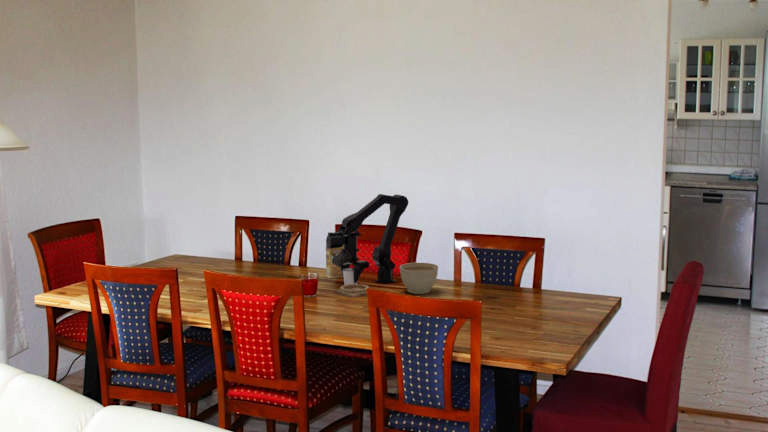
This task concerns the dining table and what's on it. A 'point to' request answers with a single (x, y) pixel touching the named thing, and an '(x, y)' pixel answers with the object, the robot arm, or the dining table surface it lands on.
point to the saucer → (352, 290)
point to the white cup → (348, 276)
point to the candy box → (331, 268)
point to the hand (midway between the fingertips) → (350, 281)
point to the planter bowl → (419, 277)
